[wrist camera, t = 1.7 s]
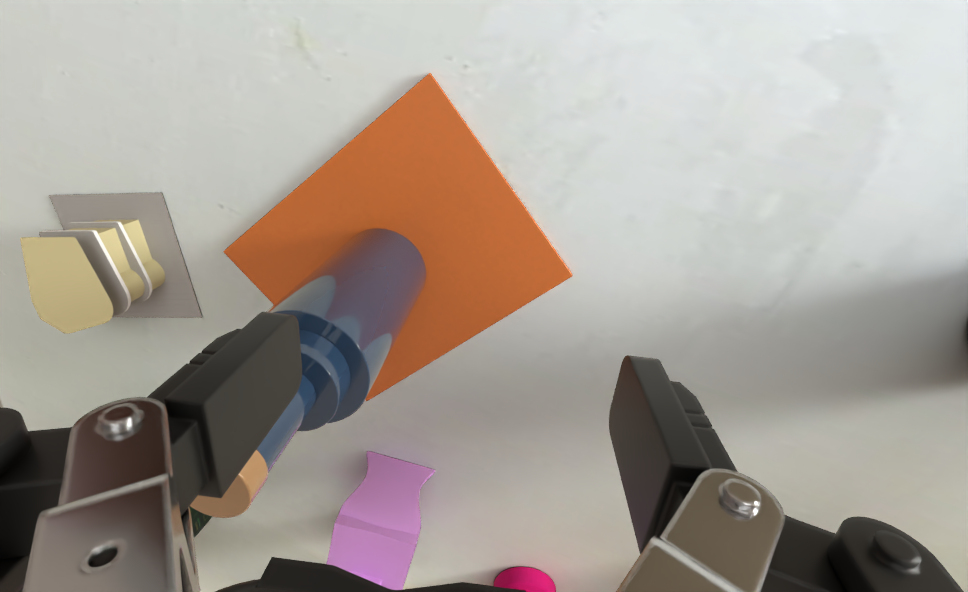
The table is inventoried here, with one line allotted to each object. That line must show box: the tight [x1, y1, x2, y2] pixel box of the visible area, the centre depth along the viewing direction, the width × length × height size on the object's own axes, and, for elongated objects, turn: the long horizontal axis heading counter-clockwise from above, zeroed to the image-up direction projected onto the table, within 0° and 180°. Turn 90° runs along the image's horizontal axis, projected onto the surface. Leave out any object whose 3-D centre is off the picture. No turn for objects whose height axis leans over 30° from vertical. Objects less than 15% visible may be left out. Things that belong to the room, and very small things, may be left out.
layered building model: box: [20, 193, 202, 333], centre depth 34 cm, size 10×9×6 cm
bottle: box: [190, 228, 426, 518], centre depth 25 cm, size 6×6×20 cm
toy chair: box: [327, 451, 435, 590], centre depth 37 cm, size 8×9×15 cm
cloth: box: [223, 73, 573, 401], centre depth 34 cm, size 20×16×1 cm
